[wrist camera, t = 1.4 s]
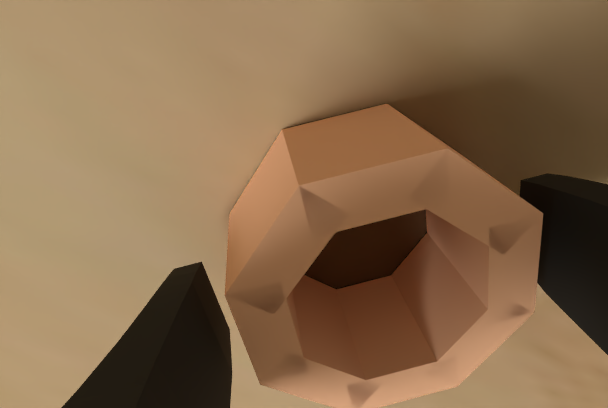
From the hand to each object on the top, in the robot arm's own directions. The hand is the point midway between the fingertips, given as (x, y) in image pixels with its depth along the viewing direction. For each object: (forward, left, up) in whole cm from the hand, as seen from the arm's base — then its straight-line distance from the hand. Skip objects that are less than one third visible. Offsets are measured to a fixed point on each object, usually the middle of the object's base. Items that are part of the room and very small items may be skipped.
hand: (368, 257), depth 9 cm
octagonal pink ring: (0, 0, -1) cm, 1 cm away
